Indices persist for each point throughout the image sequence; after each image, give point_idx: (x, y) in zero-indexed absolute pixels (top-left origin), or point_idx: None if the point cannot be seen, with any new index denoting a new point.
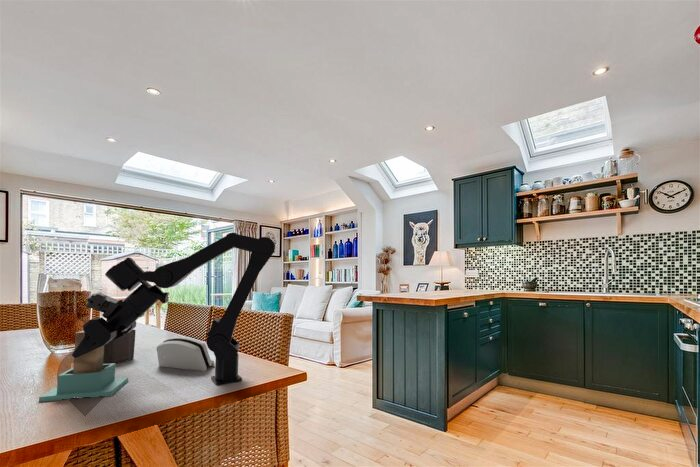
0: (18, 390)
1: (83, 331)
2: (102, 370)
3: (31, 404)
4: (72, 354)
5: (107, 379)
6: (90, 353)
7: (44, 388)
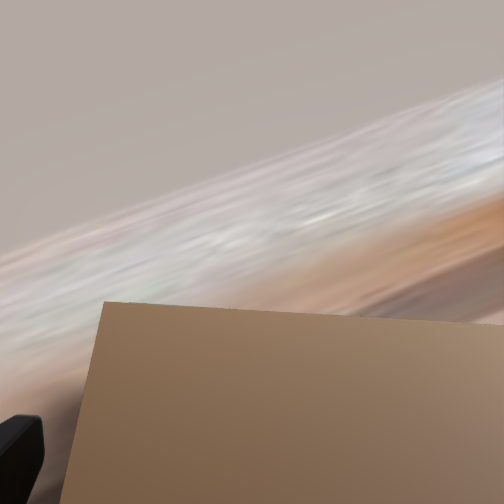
0: (346, 166)
1: (294, 418)
2: None
3: (107, 294)
4: (9, 422)
5: None
6: None
7: (354, 249)
